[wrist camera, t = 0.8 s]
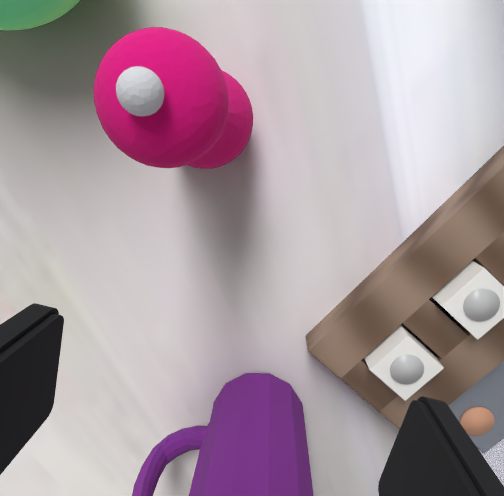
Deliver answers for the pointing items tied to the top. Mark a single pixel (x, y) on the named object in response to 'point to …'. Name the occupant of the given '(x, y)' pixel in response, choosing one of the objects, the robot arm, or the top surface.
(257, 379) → the mug
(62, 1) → the toy bird
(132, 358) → the top surface
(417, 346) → the button
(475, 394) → the pattern card
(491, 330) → the button board
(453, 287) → the middle button
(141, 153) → the pepper mill
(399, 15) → the top surface
